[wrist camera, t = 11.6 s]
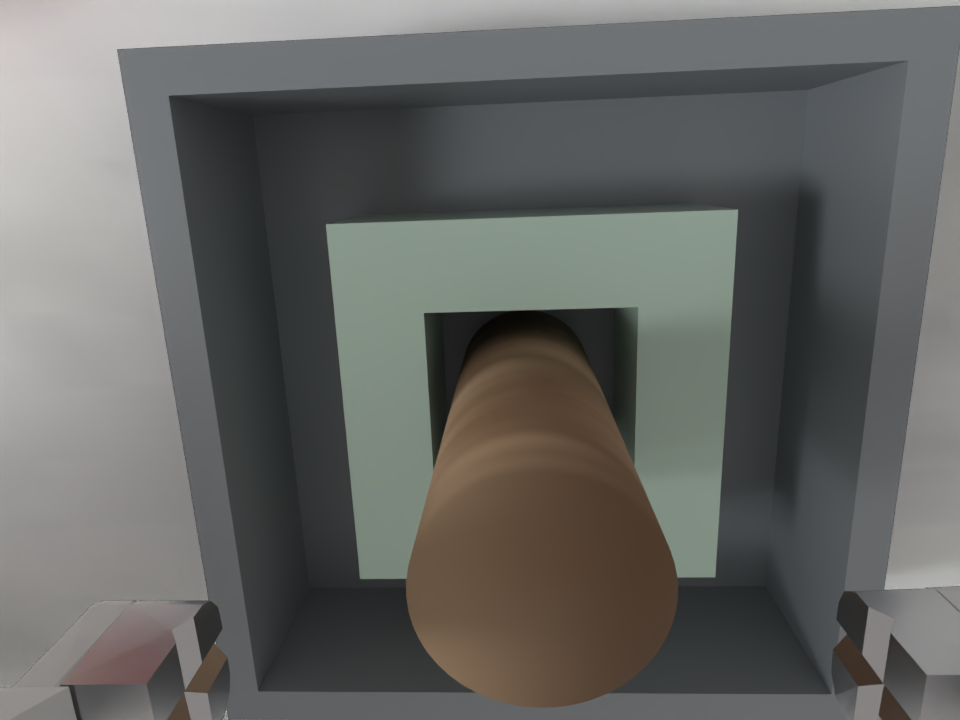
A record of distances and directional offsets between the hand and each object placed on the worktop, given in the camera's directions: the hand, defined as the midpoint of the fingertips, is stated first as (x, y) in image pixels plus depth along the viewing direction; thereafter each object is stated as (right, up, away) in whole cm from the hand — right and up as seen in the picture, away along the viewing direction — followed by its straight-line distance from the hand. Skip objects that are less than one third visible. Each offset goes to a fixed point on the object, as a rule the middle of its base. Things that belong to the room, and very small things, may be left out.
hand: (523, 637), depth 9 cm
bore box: (+1, +4, +14) cm, 14 cm away
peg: (+1, +3, +13) cm, 13 cm away
